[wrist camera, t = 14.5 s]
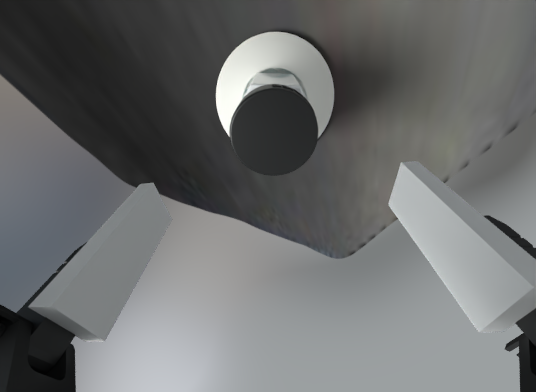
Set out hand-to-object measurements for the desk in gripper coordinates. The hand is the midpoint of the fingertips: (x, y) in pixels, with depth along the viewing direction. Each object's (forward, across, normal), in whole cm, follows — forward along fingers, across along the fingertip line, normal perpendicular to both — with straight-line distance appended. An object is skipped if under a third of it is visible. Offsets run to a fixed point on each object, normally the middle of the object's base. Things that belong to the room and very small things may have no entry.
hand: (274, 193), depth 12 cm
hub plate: (+22, 0, 0) cm, 22 cm away
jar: (+21, 0, 0) cm, 21 cm away
